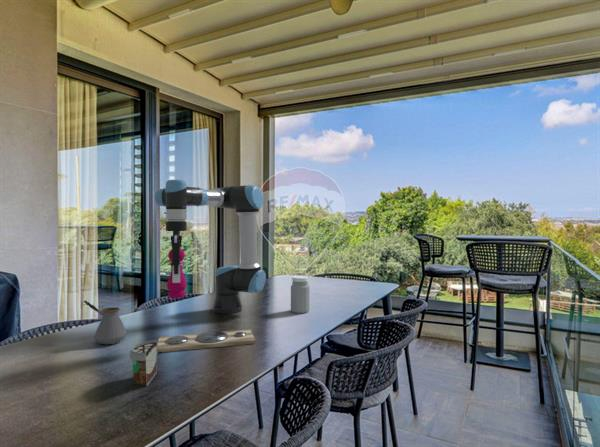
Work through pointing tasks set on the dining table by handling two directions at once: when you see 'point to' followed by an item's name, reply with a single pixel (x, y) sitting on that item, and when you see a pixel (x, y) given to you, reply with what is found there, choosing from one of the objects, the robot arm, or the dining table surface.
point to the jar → (300, 294)
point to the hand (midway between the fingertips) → (176, 280)
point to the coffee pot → (109, 326)
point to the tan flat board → (194, 344)
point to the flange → (177, 340)
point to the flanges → (216, 336)
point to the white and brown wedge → (144, 362)
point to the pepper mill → (178, 288)
